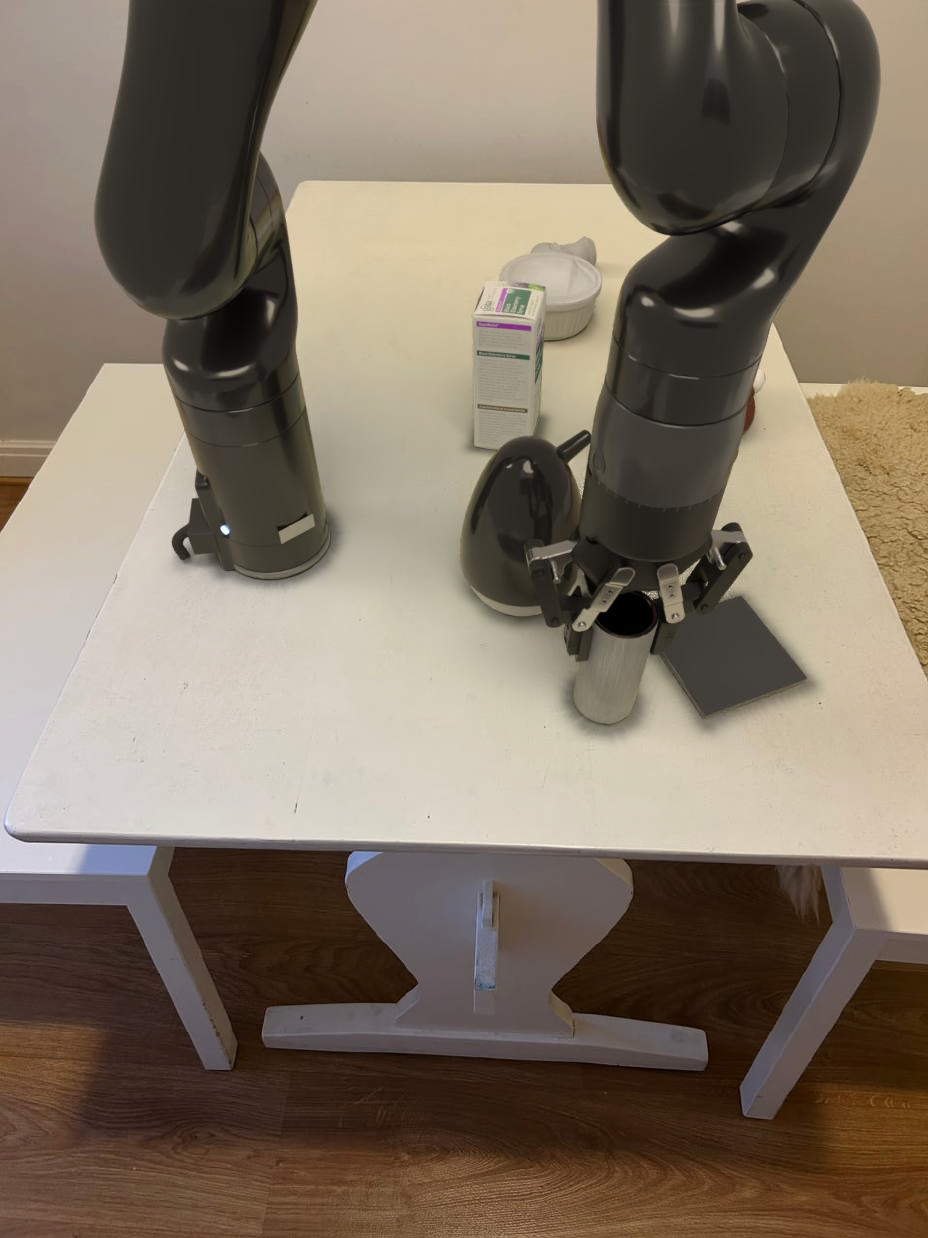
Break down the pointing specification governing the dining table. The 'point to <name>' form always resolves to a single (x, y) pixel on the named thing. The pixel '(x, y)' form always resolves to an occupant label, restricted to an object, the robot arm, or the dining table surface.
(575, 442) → the pump dispenser
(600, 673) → the planter
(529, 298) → the syrup box
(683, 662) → the slate coaster
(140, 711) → the dining table surface
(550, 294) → the ramekin
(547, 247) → the pale two-lobed sculpture
